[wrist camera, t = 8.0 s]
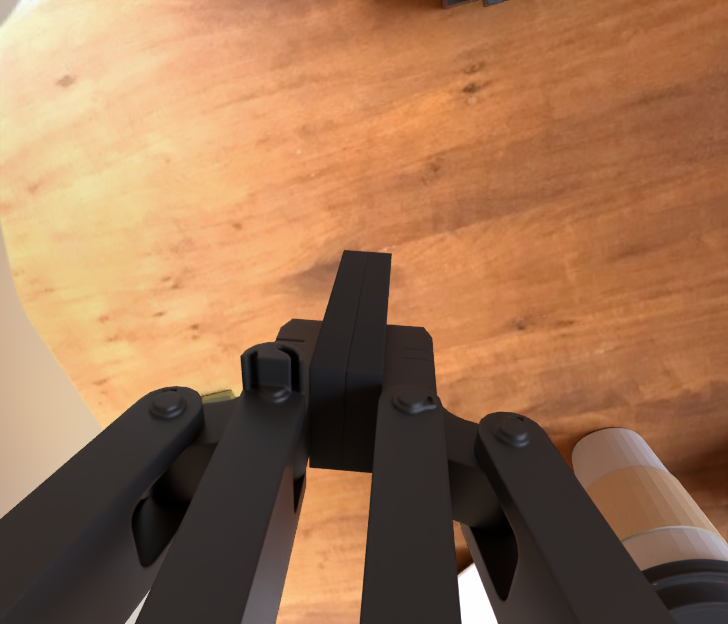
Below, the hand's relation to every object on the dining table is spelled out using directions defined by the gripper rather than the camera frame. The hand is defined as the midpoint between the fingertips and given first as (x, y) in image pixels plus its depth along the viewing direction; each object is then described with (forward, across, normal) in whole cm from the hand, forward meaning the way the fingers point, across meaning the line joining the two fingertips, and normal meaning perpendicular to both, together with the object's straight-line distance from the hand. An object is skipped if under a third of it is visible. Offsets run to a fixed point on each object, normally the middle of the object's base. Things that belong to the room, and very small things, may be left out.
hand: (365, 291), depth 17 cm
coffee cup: (+18, +19, -22) cm, 34 cm away
